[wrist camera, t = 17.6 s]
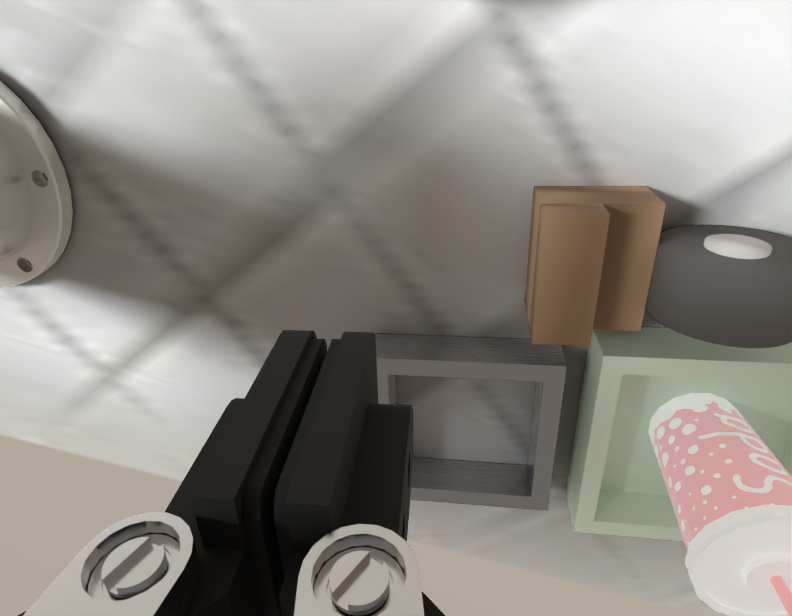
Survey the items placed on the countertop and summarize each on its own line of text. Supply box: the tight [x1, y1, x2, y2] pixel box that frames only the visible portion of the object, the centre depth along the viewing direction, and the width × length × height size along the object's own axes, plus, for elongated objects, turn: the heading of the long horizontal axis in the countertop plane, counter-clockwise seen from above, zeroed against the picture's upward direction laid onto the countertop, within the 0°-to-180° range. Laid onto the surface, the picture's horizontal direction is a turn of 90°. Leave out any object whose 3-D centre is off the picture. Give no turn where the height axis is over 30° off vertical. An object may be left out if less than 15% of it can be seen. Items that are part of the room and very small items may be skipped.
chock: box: [525, 186, 666, 346], centre depth 24 cm, size 5×6×4 cm
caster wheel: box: [645, 225, 792, 348], centre depth 23 cm, size 6×3×6 cm, turn 92°
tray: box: [566, 327, 792, 541], centre depth 28 cm, size 12×12×3 cm
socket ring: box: [375, 333, 567, 510], centre depth 30 cm, size 10×10×2 cm
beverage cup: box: [649, 393, 792, 616], centre depth 23 cm, size 6×6×14 cm
